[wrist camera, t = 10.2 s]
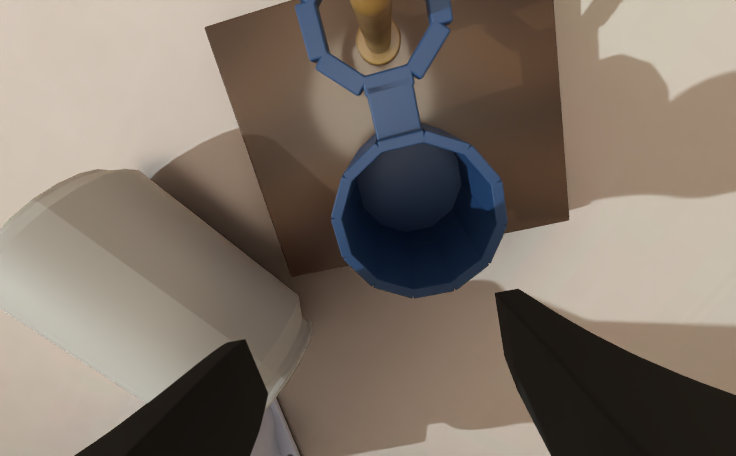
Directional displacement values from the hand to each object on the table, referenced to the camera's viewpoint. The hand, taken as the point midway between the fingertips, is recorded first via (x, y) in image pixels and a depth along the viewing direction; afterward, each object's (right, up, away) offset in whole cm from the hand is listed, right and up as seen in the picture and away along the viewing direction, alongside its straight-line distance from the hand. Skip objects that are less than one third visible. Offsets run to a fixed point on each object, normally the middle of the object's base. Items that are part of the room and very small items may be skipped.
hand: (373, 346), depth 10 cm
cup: (+1, +8, +6) cm, 10 cm away
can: (-14, +4, +5) cm, 15 cm away
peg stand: (+1, +8, +7) cm, 11 cm away
